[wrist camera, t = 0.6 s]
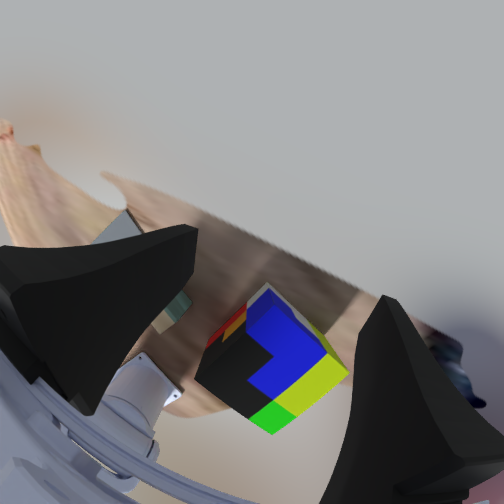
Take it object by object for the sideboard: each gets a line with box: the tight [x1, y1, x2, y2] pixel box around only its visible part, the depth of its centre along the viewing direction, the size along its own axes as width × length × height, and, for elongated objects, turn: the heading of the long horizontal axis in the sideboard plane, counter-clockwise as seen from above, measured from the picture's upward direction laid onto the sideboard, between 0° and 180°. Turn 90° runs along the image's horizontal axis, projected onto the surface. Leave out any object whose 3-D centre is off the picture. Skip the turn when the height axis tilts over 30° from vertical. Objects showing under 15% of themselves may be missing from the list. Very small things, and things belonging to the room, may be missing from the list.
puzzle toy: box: [194, 282, 349, 435], centre depth 27 cm, size 10×10×10 cm
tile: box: [151, 290, 192, 334], centre depth 28 cm, size 2×5×7 cm, turn 38°
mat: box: [91, 210, 142, 245], centre depth 31 cm, size 11×8×1 cm
